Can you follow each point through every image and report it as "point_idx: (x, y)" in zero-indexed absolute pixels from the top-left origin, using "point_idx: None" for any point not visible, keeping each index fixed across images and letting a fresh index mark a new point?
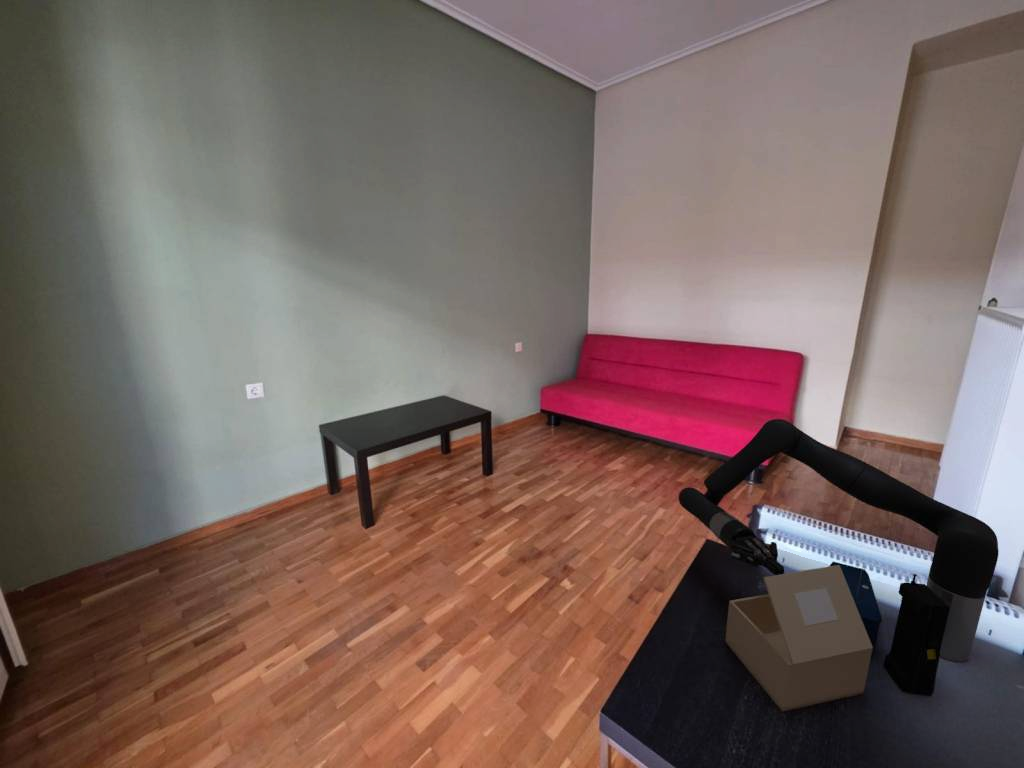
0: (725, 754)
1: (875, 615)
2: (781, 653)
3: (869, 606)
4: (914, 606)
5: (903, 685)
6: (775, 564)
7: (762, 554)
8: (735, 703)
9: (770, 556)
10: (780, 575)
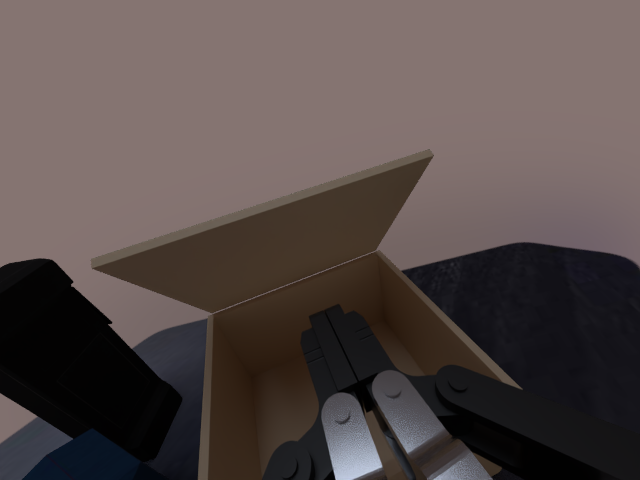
0: (461, 259)
1: (74, 442)
2: (387, 263)
3: (47, 471)
4: (52, 289)
5: (176, 391)
6: (341, 330)
7: (403, 430)
8: (454, 313)
9: (345, 403)
10: (371, 169)
